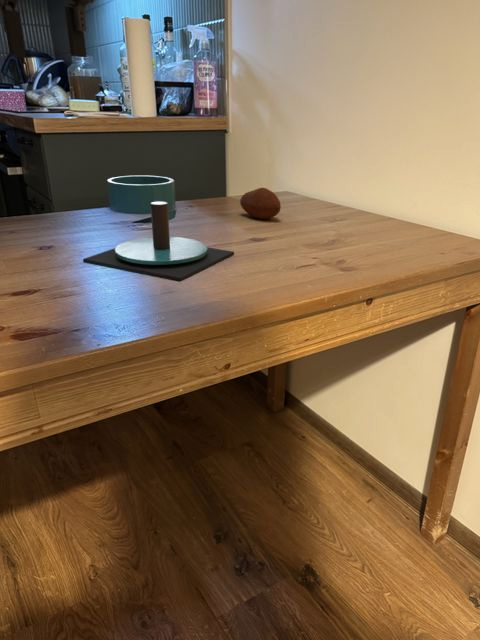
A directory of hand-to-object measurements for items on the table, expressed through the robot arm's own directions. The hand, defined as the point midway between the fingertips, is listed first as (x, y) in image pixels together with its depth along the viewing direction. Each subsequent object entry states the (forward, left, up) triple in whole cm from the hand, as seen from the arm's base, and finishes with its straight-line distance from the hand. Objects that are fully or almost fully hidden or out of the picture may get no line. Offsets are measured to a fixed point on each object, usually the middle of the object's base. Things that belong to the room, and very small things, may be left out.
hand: (47, 56), depth 83 cm
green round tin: (+4, +17, -29) cm, 34 cm away
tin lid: (+26, -7, -28) cm, 39 cm away
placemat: (+26, -7, -29) cm, 39 cm away
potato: (+26, +30, -29) cm, 49 cm away
